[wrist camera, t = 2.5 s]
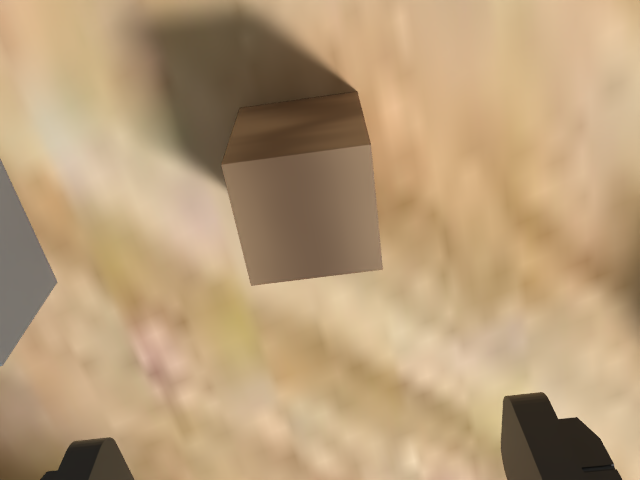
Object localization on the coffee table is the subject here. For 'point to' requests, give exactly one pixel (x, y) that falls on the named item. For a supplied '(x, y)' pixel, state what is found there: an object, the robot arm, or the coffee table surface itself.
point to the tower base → (19, 269)
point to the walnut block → (303, 189)
